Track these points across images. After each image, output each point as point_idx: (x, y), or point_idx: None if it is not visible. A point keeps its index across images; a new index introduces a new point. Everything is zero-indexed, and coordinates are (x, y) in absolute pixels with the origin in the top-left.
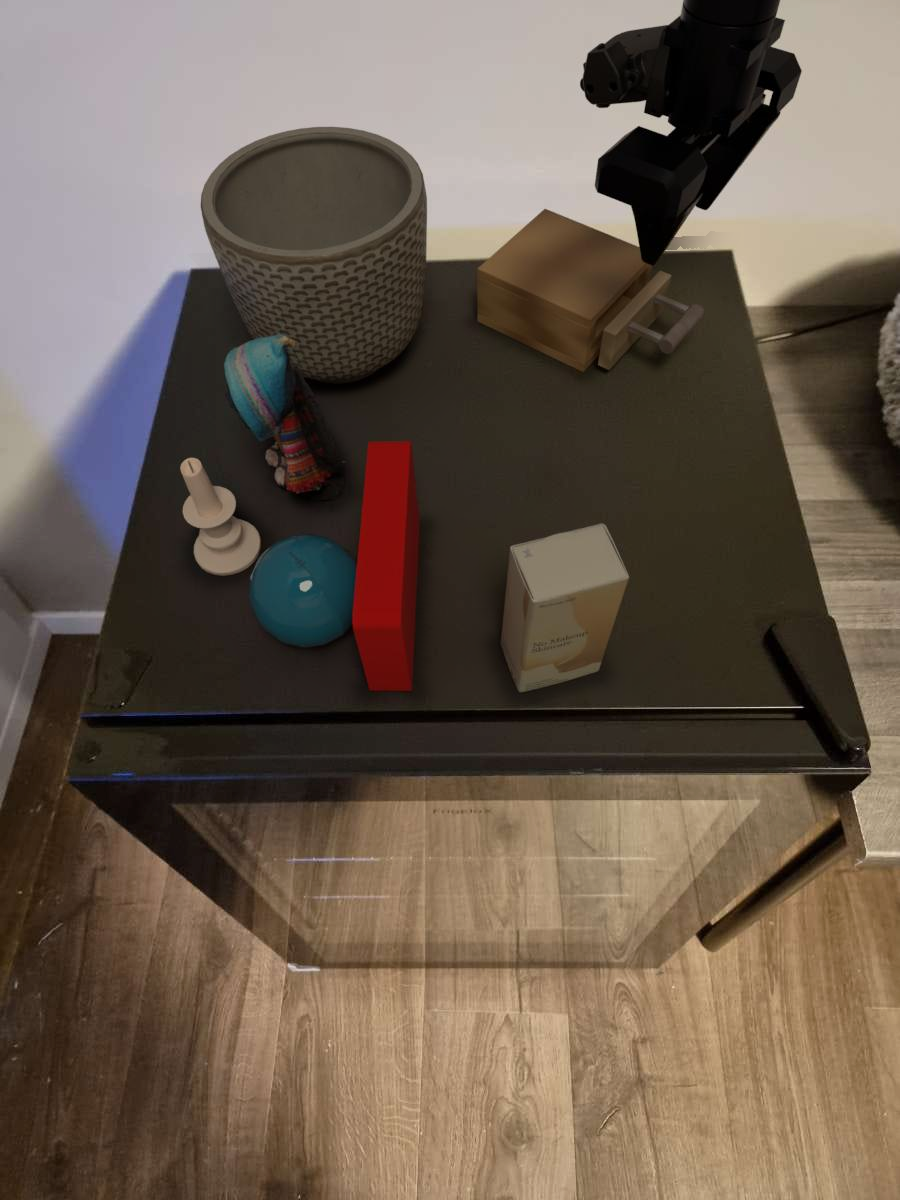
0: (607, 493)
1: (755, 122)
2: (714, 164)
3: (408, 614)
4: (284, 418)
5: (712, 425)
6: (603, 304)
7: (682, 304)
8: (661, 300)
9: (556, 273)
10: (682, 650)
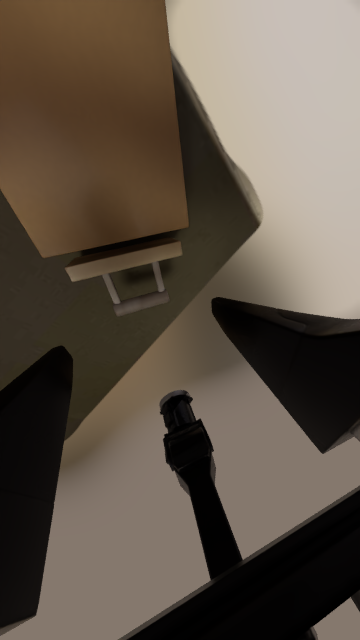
0: (12, 348)
1: (337, 442)
2: (256, 342)
3: None
4: None
5: (121, 338)
6: (76, 249)
7: (162, 285)
8: (153, 268)
9: (45, 132)
10: None
